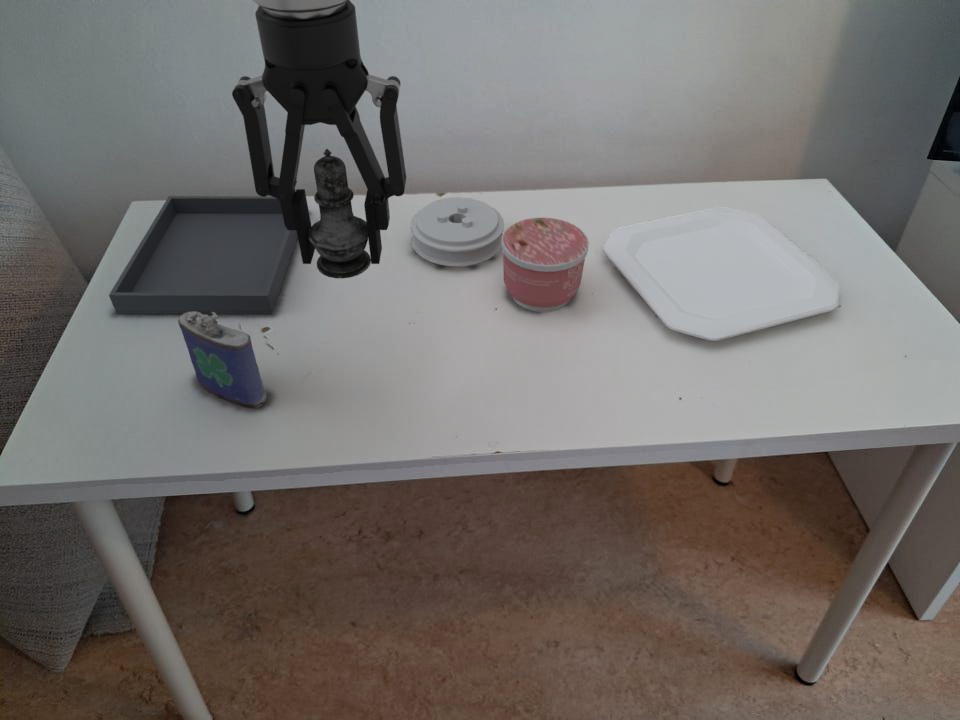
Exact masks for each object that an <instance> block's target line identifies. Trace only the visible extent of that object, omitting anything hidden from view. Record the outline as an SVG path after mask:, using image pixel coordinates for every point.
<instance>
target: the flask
mask: <svg viewBox="0 0 960 720" xmlns="http://www.w3.org/2000/svg"><path fill="white" fill-rule="evenodd" d="M218 318H219V315H218V314H216V313H215V312H212V314H211V316H209V314H202V313H200V312H197V311H192V312H190V311H189V312H186V313H184V314H180V316H179V318H178V320H177V323H178V325H179V328H180V330H181V333H182V336H183V340H184V342H185V345H186V348H187V351H188V355H189V357H190V361H191V364H192V366H193V370H194V372H195V375H196V380H197V383H198V385H199V386H200V387H201V388H202V389H203V390H205V391H206V392H207V393H208V394H209V393H210V394H211V395H212V396H214V397H217V398H219V399H222V400H225V401H226V402H229V403H232V404H236V405H238V406H241V407H243V408H252V409H254V408H255V409H258V408H259V407H262V406H263V405H264V404H265V403H266V402H267V400H268V398H267V392H266V389H265V385H264V383H263V380H262V376H261V373H260V370H259V366H258V362H257V360H256V355H255V351H254V348H253V343H252V339H251V338H252V337H251V336H250V334H248V333H246V332H244V331H240V330H237V329H233V328H229V327H227V326H224V325H221V324H219V323H218V321H217V320H218Z"/></svg>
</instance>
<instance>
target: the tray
mask: <svg viewBox="0 0 960 720" xmlns="http://www.w3.org/2000/svg"><path fill="white" fill-rule="evenodd" d="M297 241H298V236H297V231H296V230H287V228H286V227H285V224H284V219H283V214H282V209H281V205H280V202H279V200H278V199H277V198H275V197H273V196H269V195H267V196H265V197H263V196H260V195H257V196H256V195H255V196H254V195H253V196H252V195H250V196H249V195H247V196H245V195H244V196H240V195H239V196H236V195H234V196H233V195H232V196H231V195H229V196H227V195H226V196H225V195H214V196H213V195H211V196H210V195H205V196H204V195H188V196H187V195H168V197H167V199H166V200H165V202H164V203H163V205H162V207H161V208H160V210H159V211H158V213H157V215H156V216H155V218H154V220H152V222H151V224H150V226H149V228H148V229H147V231H146V233H145V234H144V236H143V238H142V239H141V241H140V243H139V245H138V246H137V248H136V249H135V251H134V252H133V254H132V256H131V257H130V259H129V261H128V263H127V264H126V266H125V267H124V269H123V271H122V272H121V274H120V275H119V278H118V279H117V281H116V283H115V284H114V285H113V287H112V289H111V291H110V292H109V294H108V297H109V299H110V301H111V304H112V306H113V308H114V311H115V313H116V314H118V315H126V314H127V315H128V314H129V315H157V314H158V315H183V314H184V313H186V312H189V311H190V312H192V311H197V312H200V313H202V314H203V315H213V314H212V312H215V313H216V315H273V313H274V311H275V308H276V304H277V301H278V298H279V296H280V292H281V289H282V286H283V284H284V280H285V276H286V274H287V271H288V268H289V265H290V262H291V259H292V256H293V253H294V250H295V247H296V244H297Z"/></svg>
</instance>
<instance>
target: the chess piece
mask: <svg viewBox="0 0 960 720" xmlns="http://www.w3.org/2000/svg"><path fill="white" fill-rule="evenodd" d="M322 154H323V155H324V156H322V157H320V158H319V159H318V160H317V161H316V162H315V163H314V165H313V174H314V180H315V186H316V192H315V194H314V196H313V199H314V202H315V203H316V204H317V205H318V209H319V215H320V219H319V220H317V221H316V222H313V224H311V228H310V229H309V232H308V238H309V240H310V242H311V243H312V244H313V246H314V247H315V251H316V252H317V253H318V255H319V257H318V258H317V260H316V269H317V270H318V271H319V273H321V274H322V275H323V276H326V277H328V278H332V279H350V278H353V277H356V276H359V275H361V274H363V273H364V272H365V271H367V270H368V269H369V267H370V266H371V256H370V253H369V252H368V251H366V247H367V244H368V242H369V240H368V232H367V223H366V220H364V219H363V218H362V217H359V216H356V215H354V212H353V206H352V205H353V204H352V200H353V199H354V196H355V195H354V191H353V190H352V189H351V188H349V183H348V177H347V176H348V175H347V167H346V164H345V162H344V161H343V160H342V159H341V158H340V157H337V156H335V155H332V151H330V149H328V148H326V149H325V150H324V152H323V153H322Z"/></svg>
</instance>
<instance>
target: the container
mask: <svg viewBox="0 0 960 720" xmlns="http://www.w3.org/2000/svg"><path fill="white" fill-rule="evenodd" d="M588 239H589V238H588V237H587V235H586V234H585V232H584V231H583V230H582V229H581V228H579V227H578V226H576V225H575V224H573V223H571V222H569V221H566V220H562V219H560V218H559V219H558V218H553V217H531V218H527V219H523V220H519V221H517V222H515V223H513V224H511V225H510V226H509V227H508V228H506V229H505V231H503V235H502V240H501V246H502V248H501V251H502V266H503V267H502V270H503V283H504V285H505V287H506V289H507V291H508V294H509V295H510V296H511V297H512V299H513V301H514V302H515V303H516V304H517V305H518V306H520V307H521V308H524V309H526V310H529V311H532V312H537V313H538V312H539V313H549V312H554V311H557V310H559V309H562V308H564V307H565V306H567V304H568V303H569V302H570V301H571V300H572V299H573V298H574V296H575V295H576V293H577V292H578V290H579V289H580V287H581V283H582V278H583V272H584V267H585V262H586V257H587V255H588V252H589V245H590V244H589V243H590V242H589V240H588Z"/></svg>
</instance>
